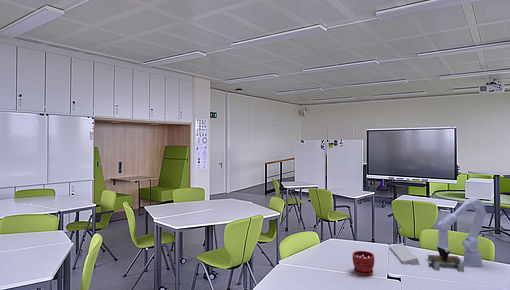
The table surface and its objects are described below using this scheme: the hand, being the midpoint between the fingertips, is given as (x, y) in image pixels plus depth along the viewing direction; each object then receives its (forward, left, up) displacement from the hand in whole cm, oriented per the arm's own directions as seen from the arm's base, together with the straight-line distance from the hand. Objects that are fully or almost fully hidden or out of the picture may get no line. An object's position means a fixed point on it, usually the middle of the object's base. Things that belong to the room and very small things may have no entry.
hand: (443, 259), depth 219 cm
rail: (0, 0, -1) cm, 1 cm away
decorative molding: (+24, -9, -3) cm, 25 cm away
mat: (0, 0, -2) cm, 2 cm away
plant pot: (+55, +29, -2) cm, 62 cm away
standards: (+2, +13, -2) cm, 13 cm away
